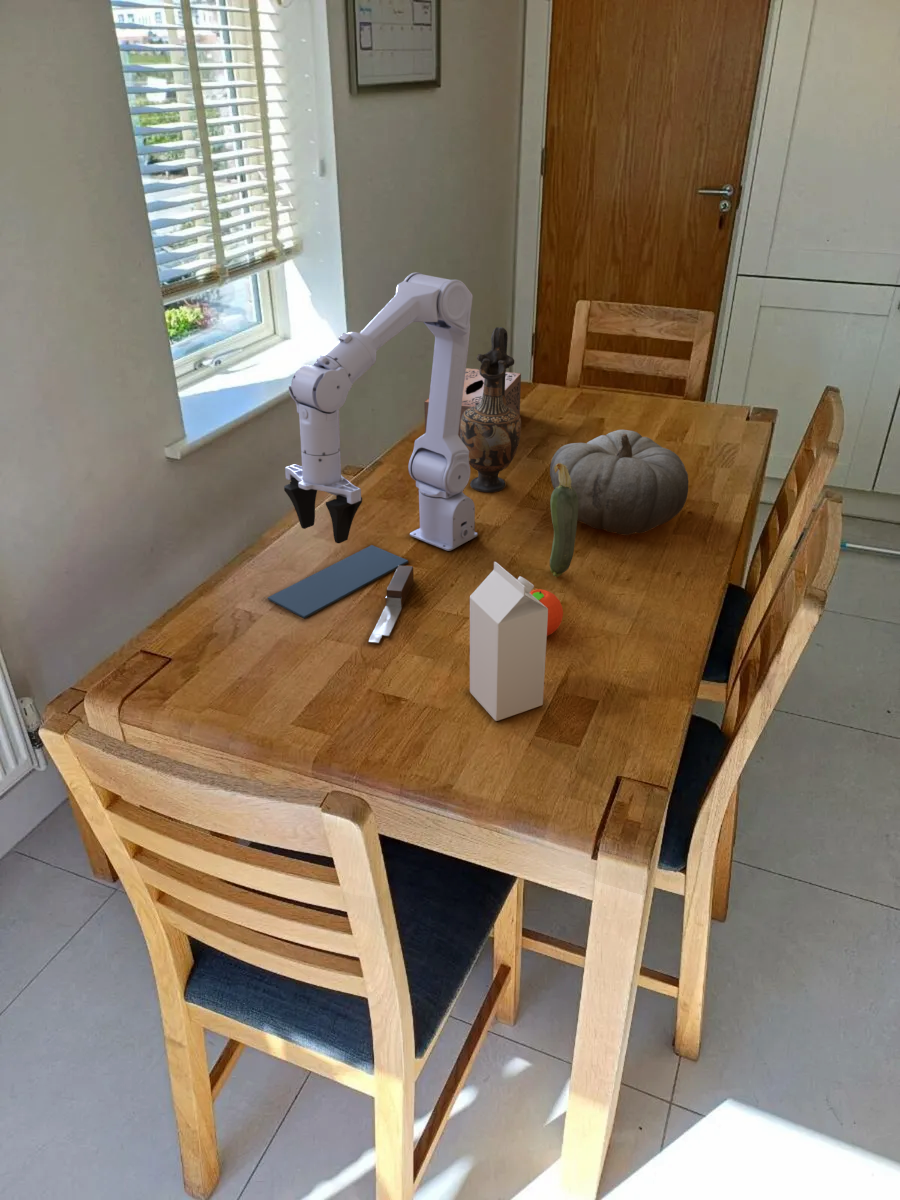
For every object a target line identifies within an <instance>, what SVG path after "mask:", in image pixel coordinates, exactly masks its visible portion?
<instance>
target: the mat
mask: <svg viewBox="0 0 900 1200" xmlns="http://www.w3.org/2000/svg"><path fill="white" fill-rule="evenodd" d="M408 563H409V560H408V559H406V558H403V557H402V556H399V555H397V554H394V553H391V552H389V551H387V550H385V549H382V548H380V547H377V546H375V545H373V544H370V545H369V546H366V547H365V548H363V549H361V550H359V551H356V552H355V553H353V554H351V555H349V556H347V557H345V558H343V559H342V560H341V559H340V561H337V562H335V563H333V564H331V565H329V566H327V567H325V568H323V569H321V570H319V571H317V572H314V573H313V574H311V575H310V576H307V577H305V578H303V579H301V580H299V581H297V582H296V583H293V584H291V585H289V586H288V587H286V588H284V589H281V590H279V591H278V592H275V593H273V594H271V595H270V596H268V597H267V600H268V601H270V602H272V603H274V604H276V605H278V606H279V607H281V608H283V609H285V610H287V611H289V612H291V613H293V614H295V615H296V616H299V617H301V618H303V619H306V618H308V617H310V616H313V615H314V614H316V613H317V612H319V611H321V610H324V609H325V608H327V607H328V606H331V605H332V604H334V603H336V602H338V601H340V600H341V599H343V598H345V597H347V596H349V595H351V594H352V593H354V592H356V591H358V590H360V589H362V588H364V587H366V586H367V585H369V584H371V583H373V582H374V581H376V580H378V579H380V578H382V577H384V576H386V575H388V574H389V573H391V572H394V571H396V570H397V568H398V566H399V565H402V566H405V565H407V564H408Z"/></svg>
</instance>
